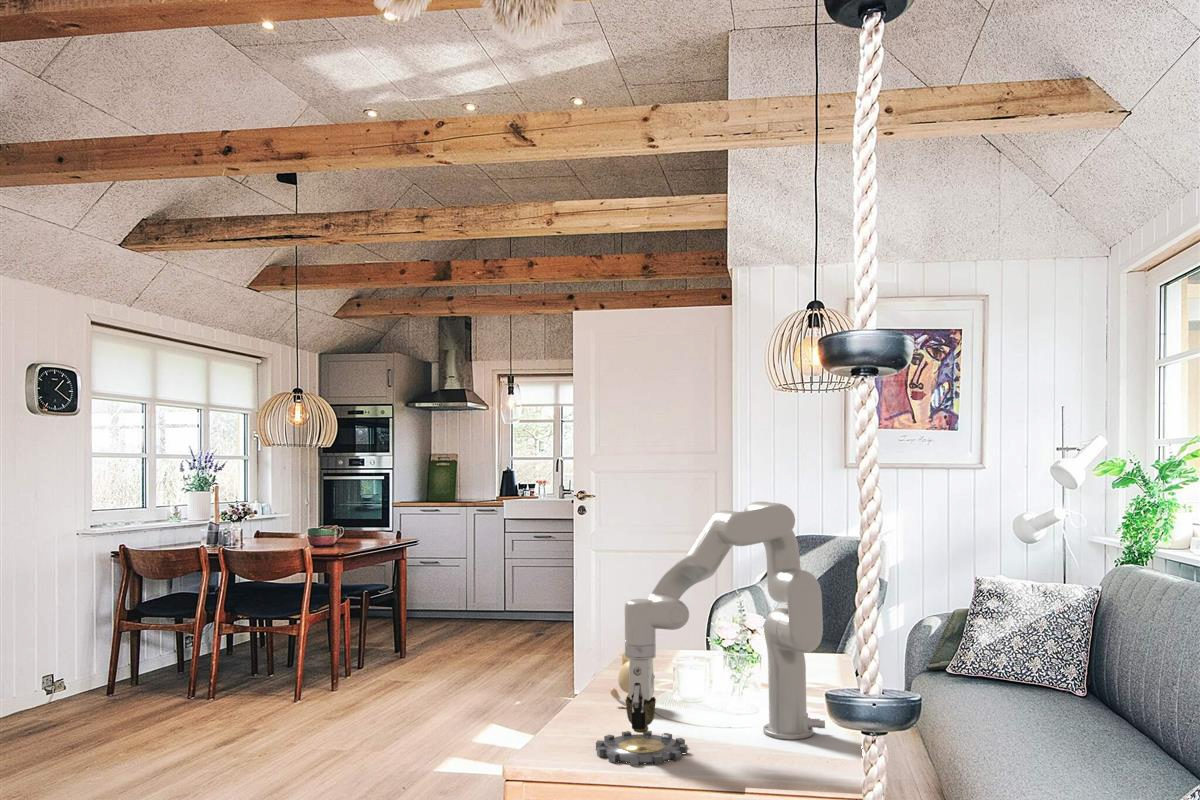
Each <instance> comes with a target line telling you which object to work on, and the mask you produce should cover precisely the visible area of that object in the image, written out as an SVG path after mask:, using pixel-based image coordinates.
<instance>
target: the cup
mask: <svg viewBox="0 0 1200 800" xmlns="http://www.w3.org/2000/svg"><path fill="white" fill-rule="evenodd" d="M642 698H643V697H639V699H642ZM626 699H627V700H626ZM624 700H626V706H625V708H626V716H627V719H628V722H629V723H630V724H631V725H632V703H633V700H631V699H630V696H629V698H628V697H627V696H626V698H625V699H624ZM656 701H657V699H656V697H655V696H652V698H651V699H650V700H649V701H647V700H645V702H644V712H645V729H644V730H637V729H633V731H634V732H635V733H637V734H643V733H644V732H647V731H649V725H651V724H652V723H653V720H654V718H655V713H656V712H655V711H656ZM639 703H641V702H639ZM641 705H642V703H641Z"/></svg>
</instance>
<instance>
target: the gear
mask: <svg viewBox="0 0 1200 800" xmlns="http://www.w3.org/2000/svg"><path fill="white" fill-rule="evenodd" d="M603 739H604V740H597V741H596V742H595V751H596V756H597V755H598V756H597V757H599V758H605V757H606V758H605V759H607V758H608V759H607V760H608V762H609V761H610V762H609V763H612V762H614V763H613V764H617V763H620V762H625V763H624V764H627V763H630V764H629V765H630V766H631V765H654V766H659V765H658V764H662V765H664V763H665V762H664V761H668V760H671V761H672V760H675V761H674V762H677V761H676V760H678V759H680V758H681V759H682V755H683V754H682V753H687V754H688V744H686V740H685V739H684V738H683V737H678V738H677V737H676V738H673V734H672V733H669V732H664V733H662V734H661V735H658V734H653V731H652V730H648V731H647V732H644V733H637V734H634V733H633V734H632V732H631V731H630V730H628V731H627V730H626V731H621V735H619V736H615V735H612V734H607V735H604V737H603ZM681 754H682V755H681ZM681 759H680V760H681ZM618 761H619V762H618ZM678 761H679V760H678ZM616 762H617V763H616ZM626 762H627V763H626ZM668 762H669V761H668ZM644 763H646V764H644ZM652 763H653V764H652Z"/></svg>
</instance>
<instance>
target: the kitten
mask: <svg viewBox="0 0 1200 800" xmlns="http://www.w3.org/2000/svg"><path fill="white" fill-rule="evenodd" d="M621 661H622V662H621V663H622V664H621V667H620V670H619V673H618V686H619V688H620V690H622V691H623V692H625V693H626V694H627V695H626V697H628V698H629V696H630V695H629V659H628V658H626V657H625V652H622V654H621ZM653 674H654V671H653ZM654 678H655V674H654ZM609 693H610V695H611V696H612V698H614V700H616V702H618V703H619V704H621V705H622V706H625V707H626V700H627V699H626V698H625V699H626V700H625V699H624V698H622V697H621V696H620V694H619V692H618V690H617V689H616V688H615V687H612V688H611V689H610V691H609ZM652 697H653V696H652ZM652 697H651V698H652Z"/></svg>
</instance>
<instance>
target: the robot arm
mask: <svg viewBox="0 0 1200 800" xmlns="http://www.w3.org/2000/svg"><path fill="white" fill-rule="evenodd" d="M795 522H796V516H795V514H794V511H793V510H792V509H791V508H790V507H789V506H787V505H786V504H783V503H779V502H778V503H776V502H768V501H753V502H751V503H749V504H748V505H746V507H745V509H744V510H743V511H735V510H719V511H716V512H715V513H713V515H712V516H711V517H709V519H708V521H707V522H706V524H705V525H704V527H703V529H702V530H701V532H700V533H699V534H698V536H697V537H696V539H695V541H694V542H693V544H692V545H691V546H690V548H689V549H688V551H687V552H686V554H685V555H684V556H683V557H682V558H681V559H679V561H677V562H676V563H675V564H674V565H673V566H672V567H671V568H670V569H668V570H667V571H666V572H665V573H664V574H663V576H661V578H660V579H659V580H658V581H657V583H656V584H655V586H654V587H653V589H652V591H651V592H650V593H649V595H648V598H647V599H646V598H634V599H629V600H627V601H626V602H625V603H624V653H625V657H626V658H628V659H629V693H628V694H629V695H630V699H631V700H633V703H632V724H631V729H632V730H634V729H637V730H644V729H645V712H644V702H645V700H647V701H649V700H650V699H651V697H654V694H655V677H654V676H655V674H653V672H654V661H653V659H655V658H656V655H657V653H656V652H657V650H656V649H657V648H656V645H657V644H656V640H657V639H656V636H657V635H656V630H670V631H672V630H673V631H674V630H676V631H677V630H679V629H681V628H683V627H684V626H685V625H687V623H688V621H689V618H690V612H689V608H688V607H687V605H686V604H685V603H684V602H683V601H682V600H680V599H681V598H682V596H683V595H684V593H686V592H687V591H688V590H689V589H691V587H693V586H694V585H697V584H698V583H700V582H703V581H706V580H708V579H709V578H711V577H712V576H714V575H715V573H716V572H717V570H718V569H719V567H720V566H721V564H722V562H723V561H724V560H725V559H726V556H727V555H728V553H730V551H731V549H732V547H733V546H734V547H746V546H747V547H748V546H752V545H756V544H761V543H763V546H764V549H765V557H766V575H767V577H766V578H767V580H766V581H767V591H768V592H767V593H768V595H769V597H770V598H771V600H773V601H775V602H776V603H779V604H782V605H785V606H787V607H782V608H781V607H780V608H776V609H774V610H772V611H770V612H769V614H767V616H766V618H765V620H764V624H763V625H764V626H763V632H764V639H765V644H766V650H767V662H768V663H767V668H768V671H767V672H768V673H767V674H768V675H767V676H768V677H767V679H768V680H767V681H768V712H769V713H768V715H769V716H768V718H769V719H768V723H766V724H764V726H763V727H762V728H763V729H762V732H763V733H764V735H767V736H769V737H771V738H775V739H780V740H802V739H807V738H811V737H812V736H813V734H814V728H817V729H826V721H825V720H821V719H820V718H811V717H809V716H808V715H809V714H808V711H807V679H806V677H807V675H806V674H807V673H806V672H807V669H806V668H807V667H806V658H805V654H806V653H812V652H813V651H815V650H816V649H817V648H818V647H819V646H820V644H821V642H822V639H823V633H824V622H823V597H822V595H823V594H822V588H821V586H820V582H819V581H818V579H817V577H816V576H815V575H814V574H812V573H811V572H809V571H806V570H804V569H802V567H801V560H800V559H801V558H800V548H799V542H798V539H797V537H796V534H795V531H793V529H794V528H795ZM639 697H643V698H642V699H639ZM639 702H641V703H642V705H641V703H639Z"/></svg>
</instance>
